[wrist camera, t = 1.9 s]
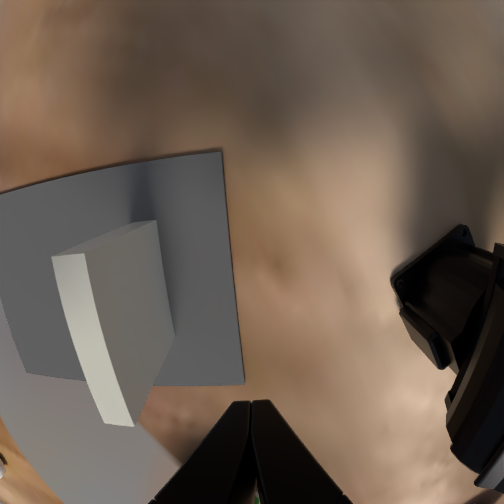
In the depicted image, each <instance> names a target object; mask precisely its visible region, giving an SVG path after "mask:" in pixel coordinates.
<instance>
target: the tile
mask: <svg viewBox="0 0 504 504" xmlns="http://www.w3.org/2000/svg"><path fill="white" fill-rule="evenodd" d="M51 258H52V263H53V268H54V272H55V277H56V281H57V286H58V290H59V294H60V298H61V302H62V306H63V310H64V313H65V317H66V321H67V324H68V327H69V331H70V334H71V337H72V340H73V344H74V347H75V350H76V353H77V356H78V359H79V361H80V364H81V367H82V370H83V373H84V375H85V378H86V381H87V383H88V386H89V388H90V391H91V393H92V396H93V398H94V400H95V403H96V405H97V408H98V410H99V412H100V414H101V417H102V419H103V421H104V423H106V424H114V425H122V426H132V427H135V425H136V422H137V420H138V418H139V416H140V413H141V411H142V409H143V407H144V404H145V402H146V400H147V397H148V395H149V393H150V391H151V389H152V386H153V384H154V382H155V380H156V377H157V375H158V373H159V371H160V369H161V366H162V364H163V362H164V360H165V358H166V356H167V353H168V351H169V349H170V347H171V345H172V343H173V340H174V338H175V332H174V327H173V322H172V317H171V311H170V306H169V300H168V295H167V289H166V283H165V276H164V270H163V263H162V257H161V250H160V243H159V235H158V227H157V220H150V221H141V222H133V223H130V224H128V225H125V226H123V227H120V228H118V229H115V230H113V231H110V232H108V233H105V234H103V235H100V236H98V237H96V238H93V239H91V240H88V241H86V242H84V243H81V244H79V245H77V246H74V247H72V248H70V249H67V250H65V251H63V252H61V253H58V254H56V255H54V256H52V257H51Z"/></svg>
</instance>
